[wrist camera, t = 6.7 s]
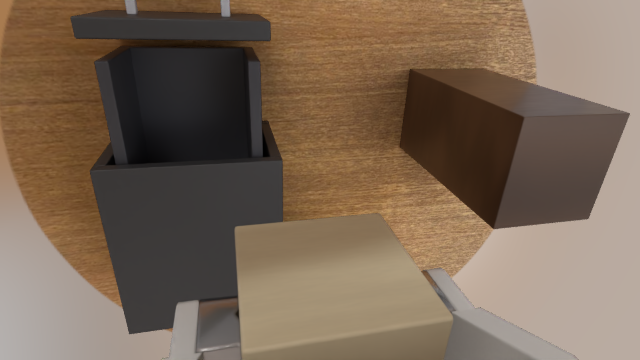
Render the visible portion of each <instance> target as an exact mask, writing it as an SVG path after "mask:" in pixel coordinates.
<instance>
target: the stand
mask: <svg viewBox="0 0 640 360" xmlns="http://www.w3.org/2000/svg"><path fill="white" fill-rule="evenodd" d="M629 115H630V113H627V112H624V111H620V110H617V109H614V108H610V107H607V106H604V105H601V104H597V103H594V102H591V101H588V100H584V99H581V98H577V97H574V96H571V95H568V94H564V93H561V92H558V91H554V90H551V89H548V88H545V87H541V86H538V85H535V84H532V83H528V82H525V81H522V80H518V79H515V78H512V77H508V76H505V75H502V74H499V73H495V72H492V71H489V70H485V69H410V75H409V82H408V89H407V97H406V104H405V112H404V119H403V126H402V134H401V141H400V147H401V148H402V149H403V150H404V151H405V152H406V153H407V154H409V155H410V156H411V157H412V158H413V159H414V160H415V161H417V162H418V163H419V164H420V165H421V166H422V167H423V168H425V169H426V170H427V171H428V172H429V173H430V174H431V175H433V176H434V177H435V178H436V179H437V180H438V181H439V182H441V183H442V184H443V185H444V186H445V187H446V188H447V189H449V190H450V191H451V192H452V193H453V194H454V195H455V196H456V197H458V198H459V199H460V200H461V201H462V202H463V203H464V204H466V205H467V206H468V207H469V208H470V209H471V210H472V211H474V212H475V213H476V214H477V215H478V216H479V217H480V218H482V219H483V220H484V221H485V222H486V223H487V224H488V225H490V226H491V227H492V228H493V229H499V228H509V227H518V226H527V225H537V224H545V223H555V222H565V221H574V220H582V219H588V218H589V216H590V213H591V211H592V208H593V206H594V203H595V201H596V198H597V196H598V193H599V191H600V188H601V185H602V183H603V181H604V178H605V175H606V173H607V171H608V168H609V165H610V163H611V160H612V158H613V155H614V153H615V150H616V148H617V145H618V142H619V140H620V138H621V135H622V133H623V130H624V128H625V125H626V123H627V120H628V118H629Z"/></svg>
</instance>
